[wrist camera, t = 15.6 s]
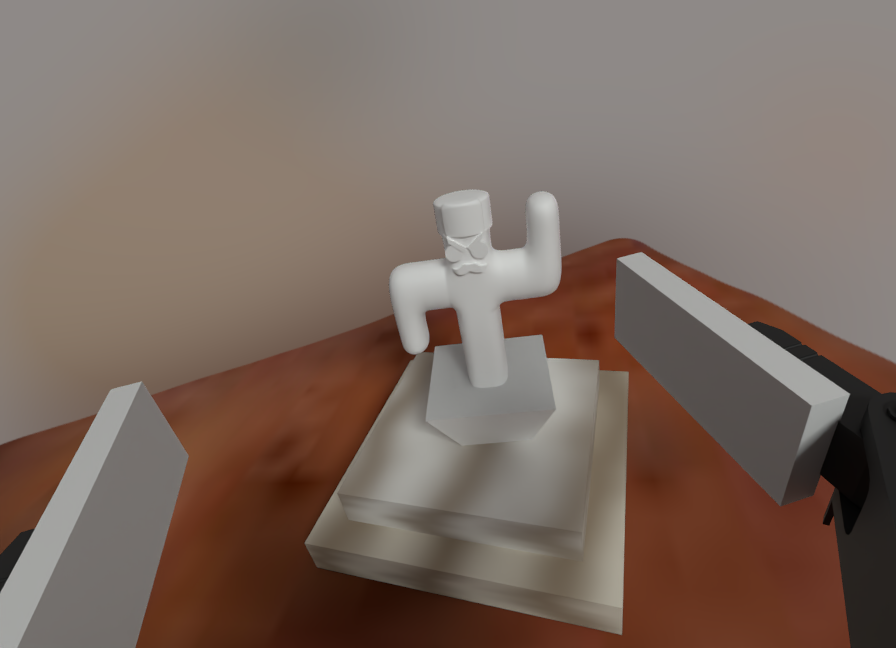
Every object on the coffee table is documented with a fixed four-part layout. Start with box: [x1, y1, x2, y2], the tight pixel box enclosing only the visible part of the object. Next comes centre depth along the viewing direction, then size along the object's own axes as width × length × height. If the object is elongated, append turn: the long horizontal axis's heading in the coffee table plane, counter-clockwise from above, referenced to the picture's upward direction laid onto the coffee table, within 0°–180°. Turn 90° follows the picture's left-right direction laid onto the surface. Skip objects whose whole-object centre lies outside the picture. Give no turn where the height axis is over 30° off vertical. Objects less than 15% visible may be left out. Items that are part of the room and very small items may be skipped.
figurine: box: [389, 190, 561, 446], centre depth 29 cm, size 7×9×15 cm
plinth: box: [305, 352, 629, 635], centre depth 34 cm, size 18×18×5 cm
